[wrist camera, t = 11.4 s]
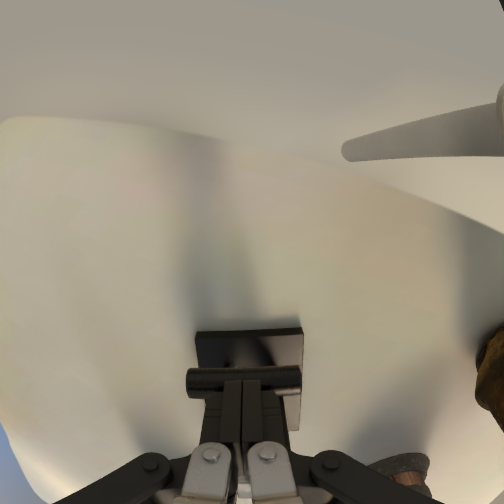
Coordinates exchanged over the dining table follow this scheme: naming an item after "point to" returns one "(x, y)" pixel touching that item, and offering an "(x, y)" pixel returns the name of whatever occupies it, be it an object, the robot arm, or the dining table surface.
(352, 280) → the dining table surface
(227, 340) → the bracket
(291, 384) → the lever
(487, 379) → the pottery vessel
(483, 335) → the dining table surface
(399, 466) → the tankard
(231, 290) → the dining table surface
